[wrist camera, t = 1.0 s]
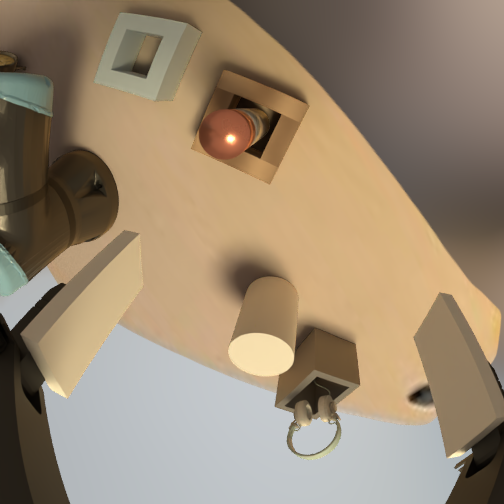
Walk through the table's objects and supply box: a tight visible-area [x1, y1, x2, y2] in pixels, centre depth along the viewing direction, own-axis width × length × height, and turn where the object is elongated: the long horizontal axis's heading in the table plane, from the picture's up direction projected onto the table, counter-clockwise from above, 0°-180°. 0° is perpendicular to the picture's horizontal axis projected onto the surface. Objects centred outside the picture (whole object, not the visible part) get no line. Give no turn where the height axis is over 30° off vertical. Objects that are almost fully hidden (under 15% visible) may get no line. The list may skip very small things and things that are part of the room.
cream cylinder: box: [228, 276, 299, 376], centre depth 40 cm, size 8×8×12 cm
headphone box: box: [275, 328, 360, 419], centre depth 45 cm, size 8×12×9 cm
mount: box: [191, 70, 309, 184], centre depth 31 cm, size 10×10×4 cm
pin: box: [199, 108, 270, 160], centre depth 27 cm, size 4×4×14 cm
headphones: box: [287, 380, 341, 460], centre depth 41 cm, size 8×4×20 cm, turn 121°
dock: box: [93, 12, 202, 101], centre depth 28 cm, size 10×10×5 cm
